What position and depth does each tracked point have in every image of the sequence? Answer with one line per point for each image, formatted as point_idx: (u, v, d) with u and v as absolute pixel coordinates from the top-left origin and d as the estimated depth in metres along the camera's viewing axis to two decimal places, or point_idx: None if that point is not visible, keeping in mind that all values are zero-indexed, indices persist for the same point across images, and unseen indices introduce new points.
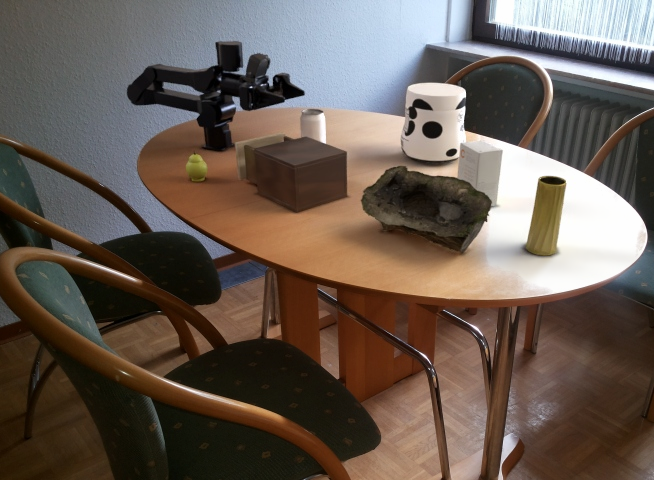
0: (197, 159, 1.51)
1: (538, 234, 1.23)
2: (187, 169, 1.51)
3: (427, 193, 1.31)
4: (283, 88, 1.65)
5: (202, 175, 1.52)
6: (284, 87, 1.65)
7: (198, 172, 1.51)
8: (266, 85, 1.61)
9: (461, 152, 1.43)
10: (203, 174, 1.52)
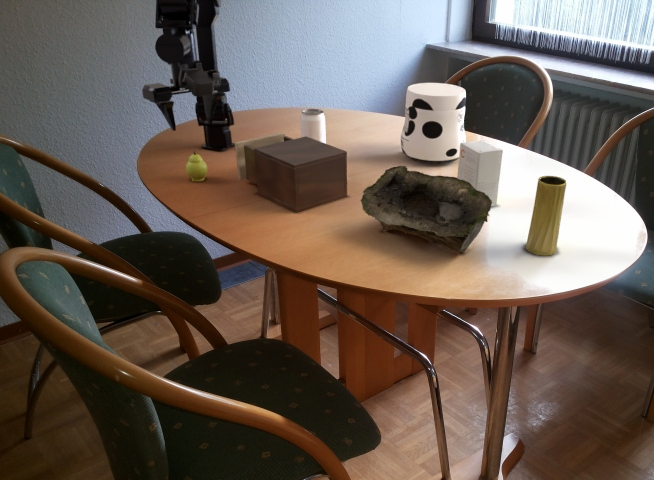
0: (197, 159, 1.51)
1: (538, 234, 1.23)
2: (187, 169, 1.51)
3: (427, 193, 1.31)
4: (208, 94, 1.48)
5: (202, 175, 1.52)
6: (209, 96, 1.48)
7: (198, 172, 1.51)
8: None
9: (461, 152, 1.43)
10: (203, 174, 1.52)
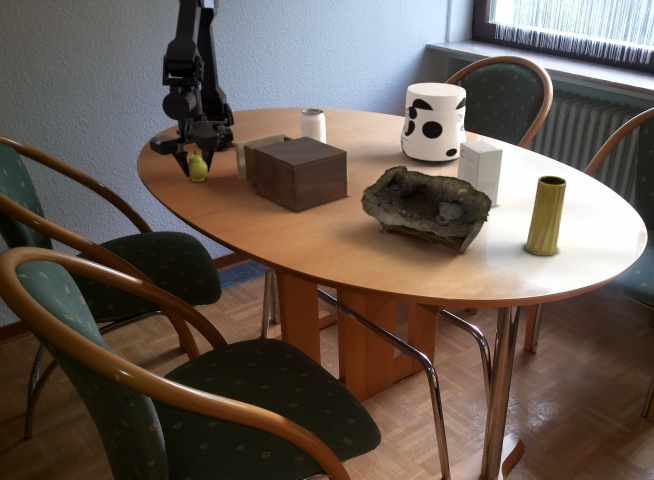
0: (197, 159, 1.51)
1: (538, 234, 1.23)
2: None
3: (427, 193, 1.31)
4: None
5: (202, 175, 1.52)
6: None
7: (198, 172, 1.51)
8: None
9: (461, 152, 1.43)
10: (203, 174, 1.52)
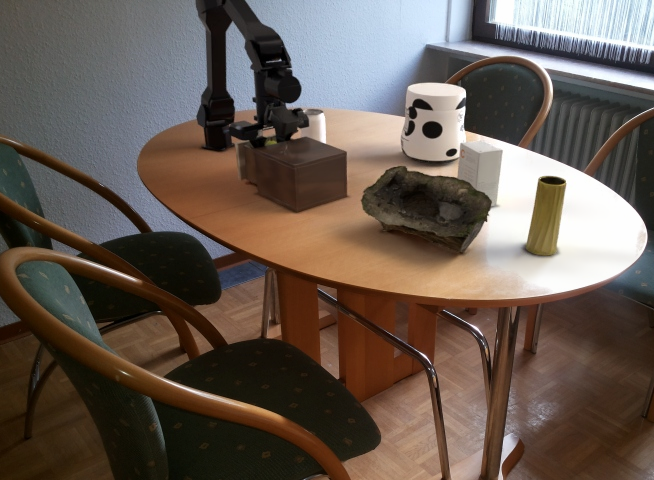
0: None
1: (538, 234, 1.23)
2: None
3: (427, 193, 1.31)
4: None
5: None
6: None
7: None
8: None
9: (461, 152, 1.43)
10: None
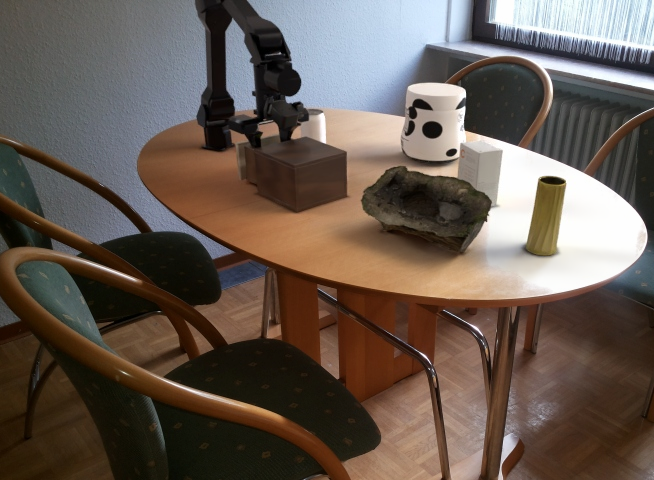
0: None
1: (538, 234, 1.23)
2: None
3: (427, 193, 1.31)
4: None
5: None
6: None
7: None
8: None
9: (461, 152, 1.43)
10: None
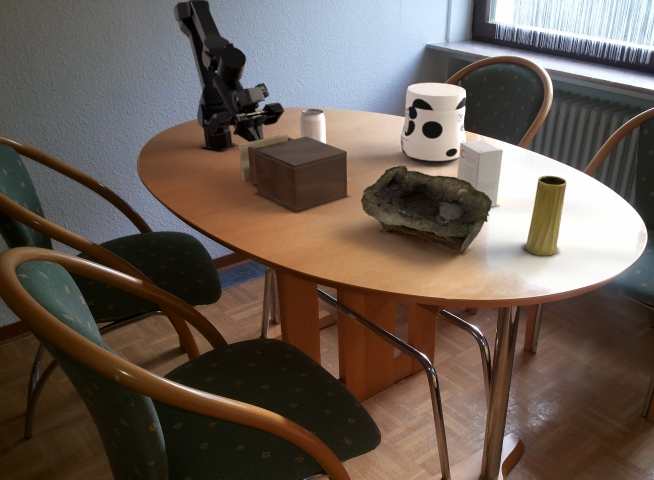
0: None
1: (538, 234, 1.23)
2: None
3: (427, 193, 1.31)
4: (252, 124, 1.54)
5: None
6: (253, 125, 1.53)
7: None
8: (249, 115, 1.53)
9: (461, 152, 1.43)
10: None
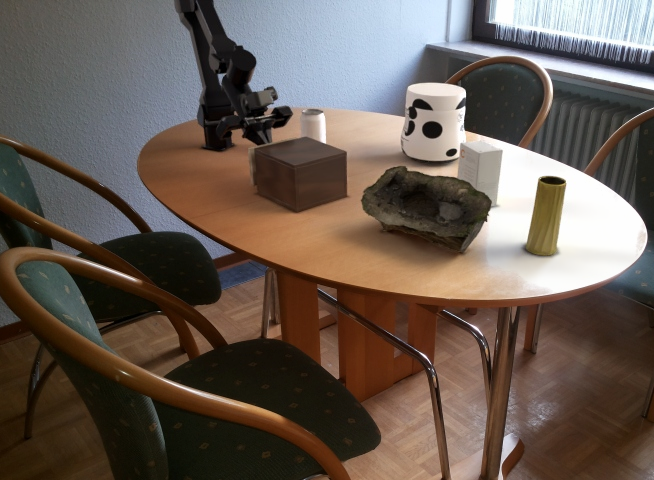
0: None
1: (538, 234, 1.23)
2: None
3: (427, 193, 1.31)
4: (261, 128, 1.52)
5: None
6: (262, 128, 1.51)
7: None
8: (258, 118, 1.51)
9: (461, 152, 1.43)
10: None
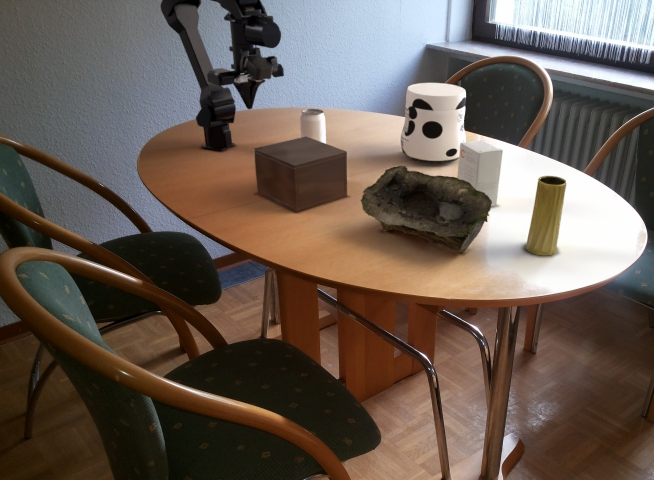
0: None
1: (538, 234, 1.23)
2: None
3: (427, 193, 1.31)
4: (249, 81, 1.59)
5: None
6: (250, 83, 1.59)
7: None
8: None
9: (461, 152, 1.43)
10: None
